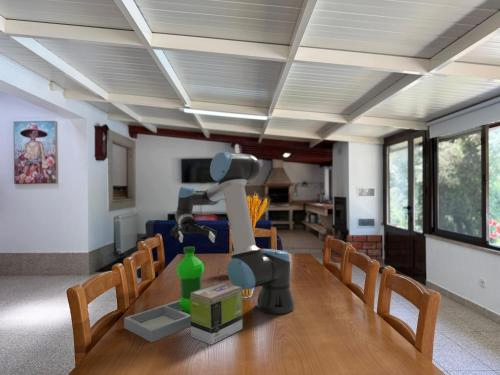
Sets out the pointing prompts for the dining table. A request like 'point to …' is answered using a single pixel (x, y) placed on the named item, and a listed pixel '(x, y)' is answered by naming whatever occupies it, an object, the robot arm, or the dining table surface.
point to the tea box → (216, 312)
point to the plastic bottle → (189, 277)
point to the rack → (158, 322)
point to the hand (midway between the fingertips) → (198, 239)
